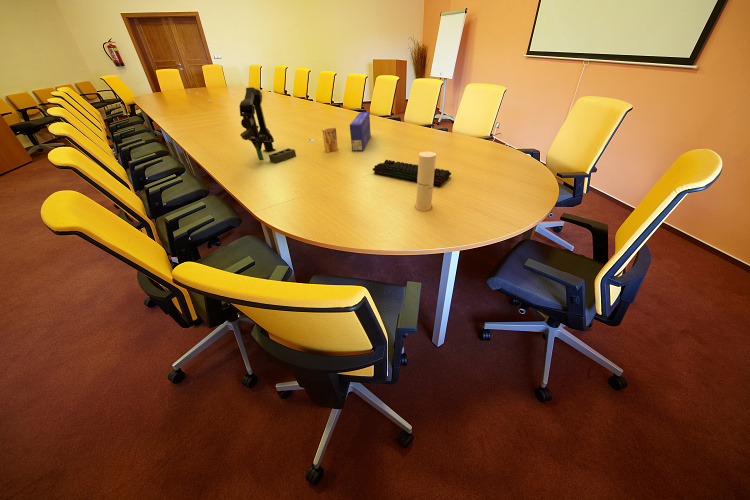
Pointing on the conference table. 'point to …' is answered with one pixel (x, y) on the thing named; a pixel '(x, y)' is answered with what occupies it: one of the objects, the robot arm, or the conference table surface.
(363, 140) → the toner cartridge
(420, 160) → the cylindrical container
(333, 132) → the candy box
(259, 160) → the capped tube
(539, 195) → the conference table surface
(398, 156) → the conference table surface
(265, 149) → the robot arm
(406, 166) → the keyboard
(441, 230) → the conference table surface
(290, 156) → the organiser
